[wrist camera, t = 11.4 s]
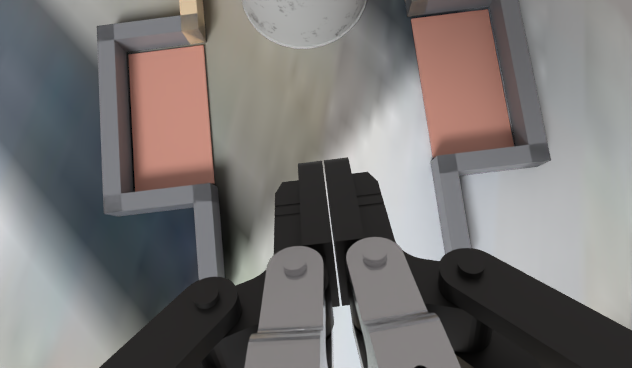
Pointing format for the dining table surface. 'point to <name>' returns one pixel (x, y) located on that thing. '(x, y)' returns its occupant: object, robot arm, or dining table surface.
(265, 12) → the grey concrete cylinder
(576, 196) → the dining table surface
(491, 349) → the robot arm
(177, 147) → the two-trap box
